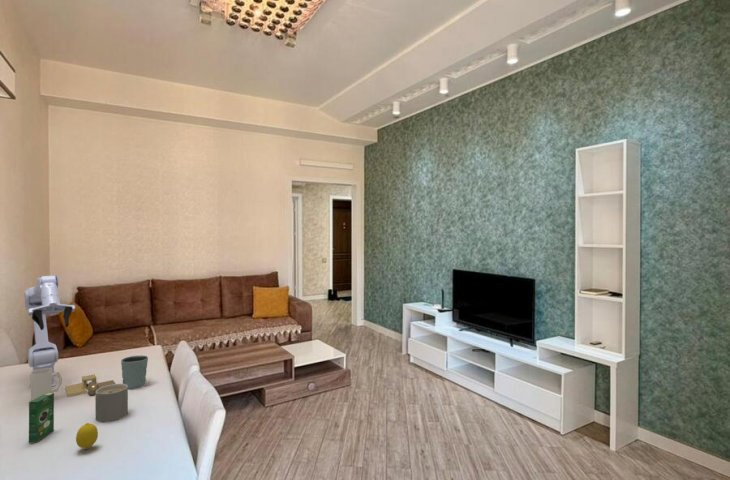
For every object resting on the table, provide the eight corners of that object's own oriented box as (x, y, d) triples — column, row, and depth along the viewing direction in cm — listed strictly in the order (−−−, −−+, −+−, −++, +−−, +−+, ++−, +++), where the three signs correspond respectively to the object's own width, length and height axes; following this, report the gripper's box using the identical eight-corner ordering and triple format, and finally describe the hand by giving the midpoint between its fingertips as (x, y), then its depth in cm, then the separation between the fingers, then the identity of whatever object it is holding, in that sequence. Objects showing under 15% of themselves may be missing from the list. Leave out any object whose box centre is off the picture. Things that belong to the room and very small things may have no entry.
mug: (28, 406, 152) (28, 375, 152) (31, 400, 157) (31, 370, 157) (61, 400, 158) (61, 370, 157) (62, 394, 163) (62, 365, 163)
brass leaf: (64, 388, 170) (64, 380, 170) (94, 382, 177) (94, 374, 177) (67, 397, 161) (67, 388, 161) (98, 390, 168) (98, 381, 168)
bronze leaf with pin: (84, 388, 170) (84, 379, 170) (113, 382, 177) (113, 374, 177) (88, 396, 161) (88, 387, 161) (118, 389, 168) (118, 381, 168)
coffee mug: (130, 416, 143) (130, 389, 143) (97, 425, 137) (97, 396, 137) (123, 404, 154) (123, 379, 153) (92, 412, 147) (92, 385, 147)
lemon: (83, 444, 124) (83, 419, 124) (101, 444, 124) (101, 418, 124) (71, 454, 118) (71, 427, 118) (91, 453, 119) (91, 427, 119)
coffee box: (45, 430, 133) (45, 392, 133) (54, 430, 133) (54, 391, 133) (27, 443, 125) (27, 402, 125) (37, 442, 125) (37, 401, 125)
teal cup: (115, 388, 170) (115, 360, 170) (137, 380, 180) (137, 354, 180) (132, 391, 167) (132, 363, 167) (153, 383, 176) (153, 356, 176)
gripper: (28, 294, 153) (32, 323, 146) (74, 291, 163) (79, 318, 157) (26, 306, 156) (29, 334, 149) (71, 302, 167) (76, 328, 160)
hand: (55, 326), depth 153 cm, fingers open, 7 cm apart
